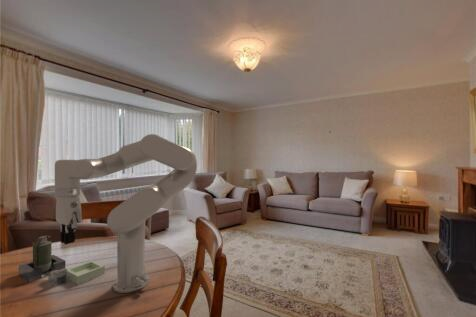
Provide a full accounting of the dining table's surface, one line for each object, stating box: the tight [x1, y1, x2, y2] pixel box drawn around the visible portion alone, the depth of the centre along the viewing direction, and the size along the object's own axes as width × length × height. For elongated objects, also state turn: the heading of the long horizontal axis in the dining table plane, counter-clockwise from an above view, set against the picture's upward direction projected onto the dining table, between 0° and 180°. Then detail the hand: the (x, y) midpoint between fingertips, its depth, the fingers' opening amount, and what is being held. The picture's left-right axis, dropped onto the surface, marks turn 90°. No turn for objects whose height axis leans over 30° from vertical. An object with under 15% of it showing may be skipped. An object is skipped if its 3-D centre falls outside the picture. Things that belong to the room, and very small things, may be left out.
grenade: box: [31, 235, 53, 276], centre depth 97 cm, size 6×6×15 cm
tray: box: [66, 260, 106, 286], centre depth 94 cm, size 10×10×3 cm
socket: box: [18, 254, 66, 284], centre depth 97 cm, size 12×12×4 cm
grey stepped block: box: [47, 267, 68, 287], centre depth 89 cm, size 8×4×5 cm, turn 58°
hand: (67, 242), depth 84 cm, fingers closed
